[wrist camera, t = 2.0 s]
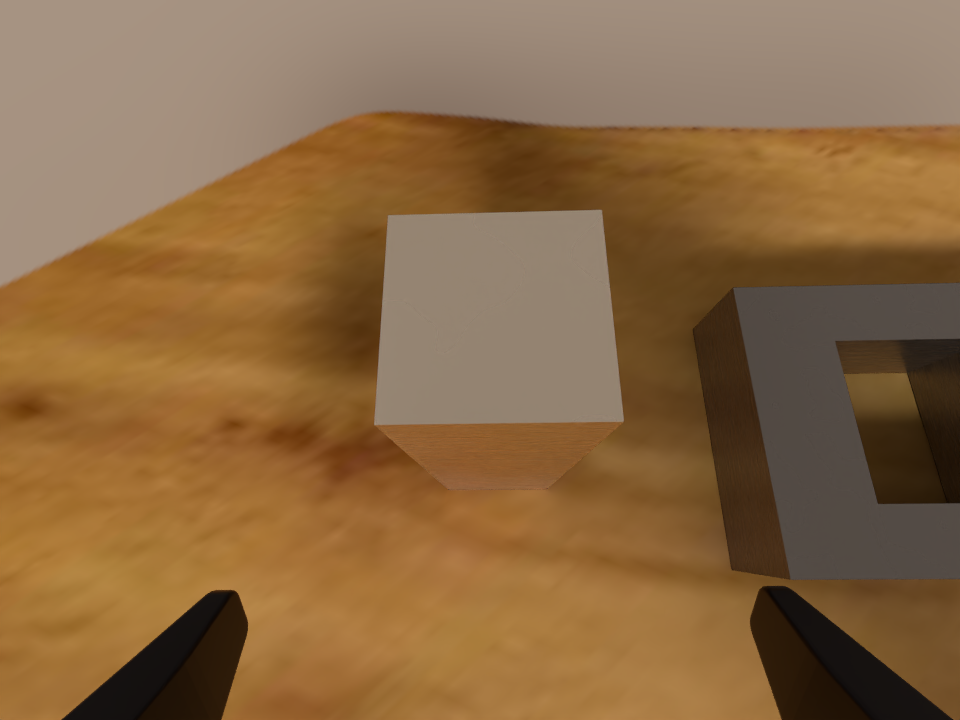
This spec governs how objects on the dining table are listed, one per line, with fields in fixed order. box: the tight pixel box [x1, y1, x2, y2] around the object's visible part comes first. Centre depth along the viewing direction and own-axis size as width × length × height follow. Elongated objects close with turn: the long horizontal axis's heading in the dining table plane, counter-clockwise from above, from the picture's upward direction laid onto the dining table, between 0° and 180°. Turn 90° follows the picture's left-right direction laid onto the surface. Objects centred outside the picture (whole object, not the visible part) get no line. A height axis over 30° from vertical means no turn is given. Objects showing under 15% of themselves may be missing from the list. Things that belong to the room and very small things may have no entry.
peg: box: [374, 210, 624, 490], centre depth 15 cm, size 4×4×13 cm
